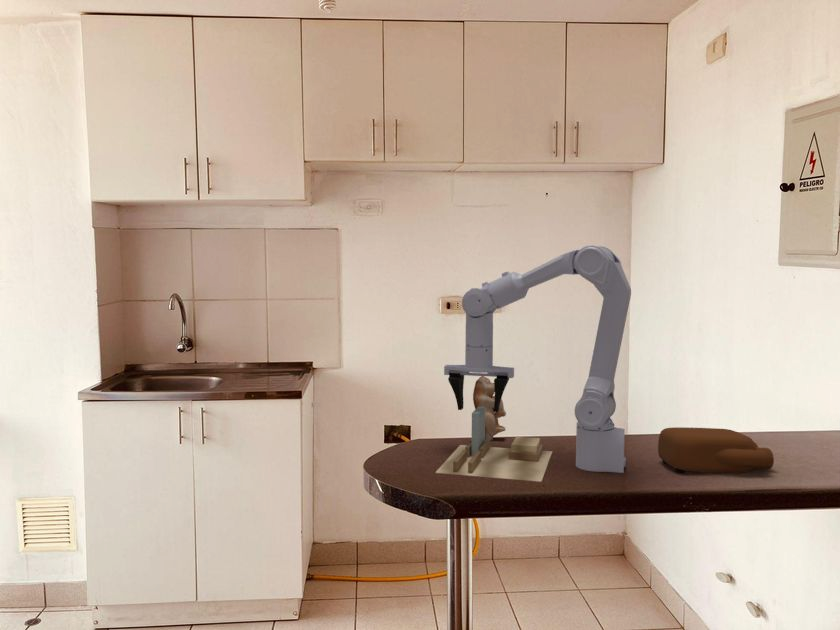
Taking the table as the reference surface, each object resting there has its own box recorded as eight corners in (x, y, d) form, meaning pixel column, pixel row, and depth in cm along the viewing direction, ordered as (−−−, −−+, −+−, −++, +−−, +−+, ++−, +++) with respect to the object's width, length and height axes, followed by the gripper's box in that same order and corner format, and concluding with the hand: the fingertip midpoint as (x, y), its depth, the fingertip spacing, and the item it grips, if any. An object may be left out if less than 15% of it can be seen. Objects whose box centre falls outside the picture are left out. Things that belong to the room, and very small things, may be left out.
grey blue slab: (484, 448, 154) (485, 407, 153) (478, 456, 147) (478, 413, 146) (477, 447, 154) (478, 406, 154) (471, 456, 148) (471, 413, 147)
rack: (552, 456, 152) (552, 442, 151) (541, 486, 130) (541, 470, 130) (460, 449, 157) (460, 435, 157) (435, 477, 136) (435, 462, 136)
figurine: (504, 446, 159) (505, 379, 158) (470, 444, 161) (471, 378, 160) (506, 439, 166) (507, 375, 164) (474, 438, 167) (474, 374, 166)
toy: (739, 461, 152) (648, 458, 150) (742, 425, 151) (651, 422, 149) (780, 482, 137) (680, 479, 135) (783, 442, 137) (683, 439, 135)
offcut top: (539, 445, 151) (539, 438, 150) (536, 453, 144) (536, 446, 144) (516, 443, 152) (516, 436, 152) (511, 451, 145) (511, 444, 145)
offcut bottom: (542, 451, 151) (542, 444, 151) (538, 461, 143) (538, 454, 143) (514, 449, 153) (514, 442, 153) (508, 459, 145) (508, 452, 145)
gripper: (516, 345, 151) (515, 408, 152) (449, 342, 155) (449, 404, 156) (511, 348, 144) (510, 415, 145) (441, 346, 148) (441, 410, 149)
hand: (478, 410), depth 150 cm, fingers open, 7 cm apart
